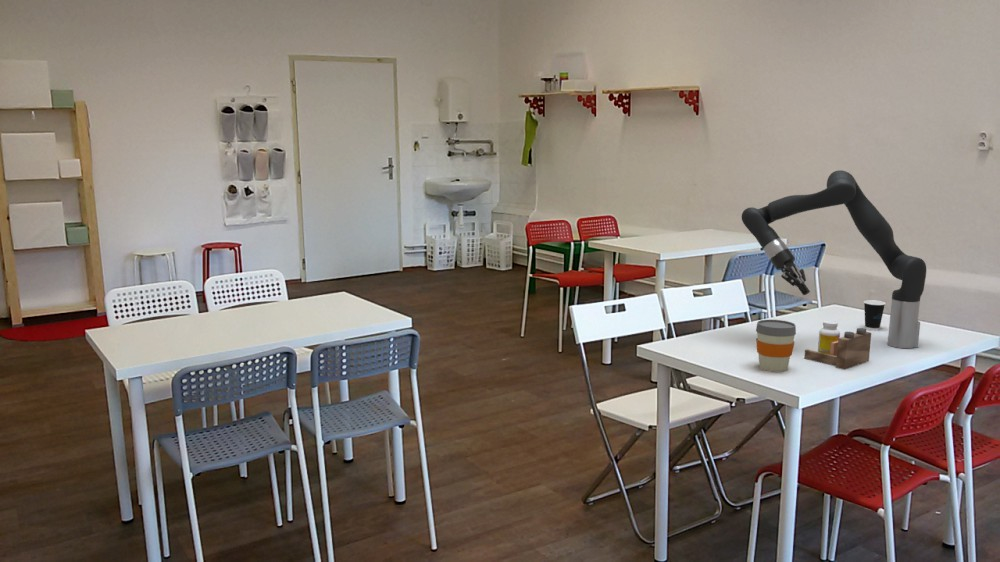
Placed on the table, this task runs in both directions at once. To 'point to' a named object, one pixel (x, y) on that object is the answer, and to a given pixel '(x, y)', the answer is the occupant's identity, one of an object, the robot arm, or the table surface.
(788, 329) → the reusable coffee cup
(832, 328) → the supplement bottle
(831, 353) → the plate
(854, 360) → the cradle
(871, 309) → the dixie cup
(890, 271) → the robot arm
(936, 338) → the table surface
